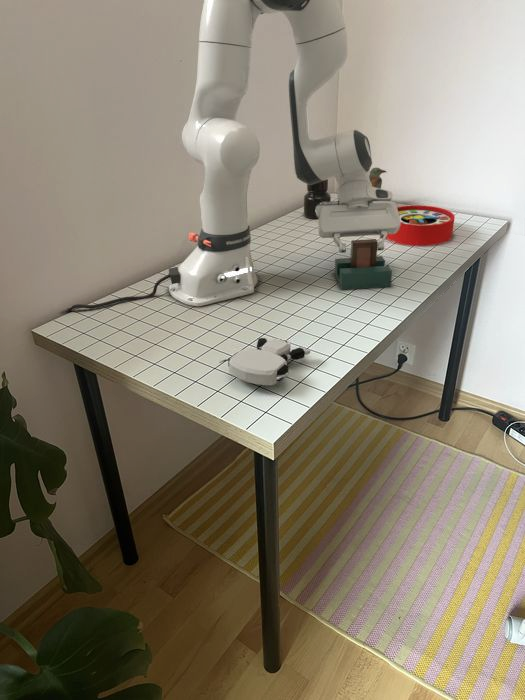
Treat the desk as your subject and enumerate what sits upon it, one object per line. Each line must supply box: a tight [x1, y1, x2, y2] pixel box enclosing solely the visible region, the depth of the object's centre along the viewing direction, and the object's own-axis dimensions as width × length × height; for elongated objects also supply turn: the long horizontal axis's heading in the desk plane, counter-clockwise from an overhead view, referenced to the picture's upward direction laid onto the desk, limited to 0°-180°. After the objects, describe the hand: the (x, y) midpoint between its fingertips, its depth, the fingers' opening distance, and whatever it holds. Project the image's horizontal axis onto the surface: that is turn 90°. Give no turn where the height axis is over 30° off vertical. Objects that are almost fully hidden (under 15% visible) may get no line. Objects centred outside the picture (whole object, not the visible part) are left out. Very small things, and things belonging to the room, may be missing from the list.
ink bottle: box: [303, 179, 332, 220], centre depth 182 cm, size 10×9×12 cm
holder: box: [334, 255, 393, 291], centre depth 137 cm, size 10×12×4 cm
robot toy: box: [218, 337, 311, 386], centre depth 103 cm, size 12×4×15 cm
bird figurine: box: [369, 167, 387, 189], centre depth 184 cm, size 13×10×20 cm
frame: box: [349, 238, 379, 268], centre depth 135 cm, size 2×6×9 cm, turn 94°
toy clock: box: [385, 204, 455, 247], centre depth 164 cm, size 20×6×20 cm
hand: (361, 250), depth 136 cm, fingers open, 8 cm apart
